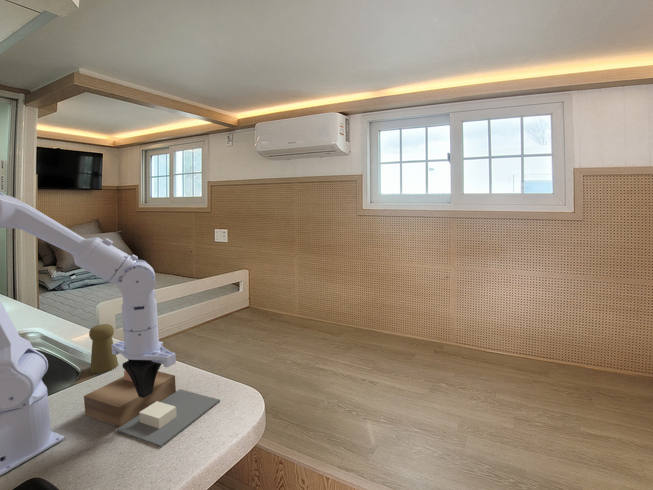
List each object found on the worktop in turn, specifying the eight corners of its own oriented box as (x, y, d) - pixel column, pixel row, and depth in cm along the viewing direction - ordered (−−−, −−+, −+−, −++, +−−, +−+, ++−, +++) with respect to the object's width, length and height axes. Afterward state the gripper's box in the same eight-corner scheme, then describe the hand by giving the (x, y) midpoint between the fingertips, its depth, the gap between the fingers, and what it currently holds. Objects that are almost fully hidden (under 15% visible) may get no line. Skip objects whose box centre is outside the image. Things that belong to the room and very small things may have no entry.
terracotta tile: (141, 384, 72) (140, 375, 72) (124, 379, 74) (123, 370, 74) (157, 375, 76) (156, 366, 76) (140, 371, 78) (140, 362, 78)
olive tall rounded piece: (121, 360, 92) (118, 320, 91) (115, 371, 87) (111, 328, 85) (94, 364, 90) (91, 323, 89) (86, 375, 85) (82, 331, 83)
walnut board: (120, 427, 65) (119, 407, 64) (85, 415, 69) (83, 396, 68) (175, 392, 77) (174, 375, 76) (143, 383, 80) (142, 367, 80)
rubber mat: (161, 447, 59) (161, 445, 59) (116, 431, 64) (116, 429, 64) (220, 401, 73) (220, 399, 73) (180, 390, 77) (180, 389, 77)
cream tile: (139, 412, 65) (139, 422, 66) (158, 418, 64) (159, 428, 64) (157, 401, 69) (157, 410, 69) (176, 406, 67) (176, 416, 67)
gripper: (186, 324, 66) (190, 392, 68) (132, 315, 72) (137, 377, 73) (155, 337, 60) (160, 412, 61) (98, 326, 65) (104, 394, 67)
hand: (145, 394), depth 67 cm, fingers closed
